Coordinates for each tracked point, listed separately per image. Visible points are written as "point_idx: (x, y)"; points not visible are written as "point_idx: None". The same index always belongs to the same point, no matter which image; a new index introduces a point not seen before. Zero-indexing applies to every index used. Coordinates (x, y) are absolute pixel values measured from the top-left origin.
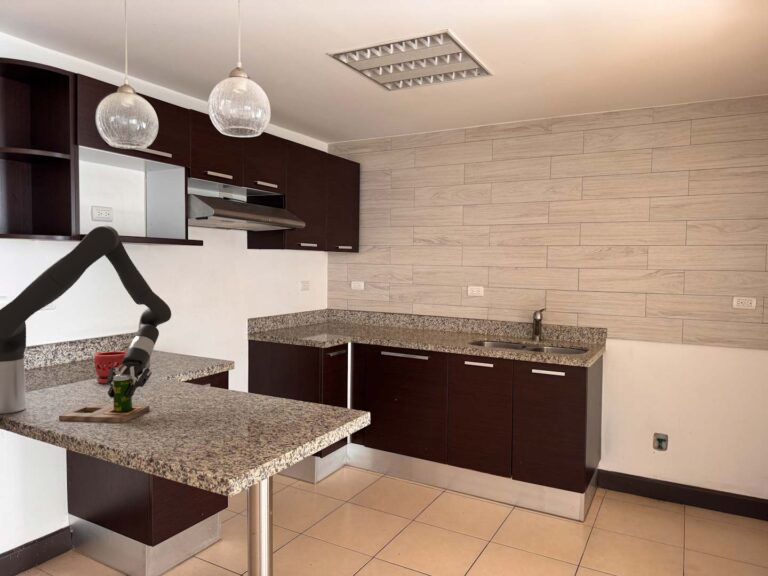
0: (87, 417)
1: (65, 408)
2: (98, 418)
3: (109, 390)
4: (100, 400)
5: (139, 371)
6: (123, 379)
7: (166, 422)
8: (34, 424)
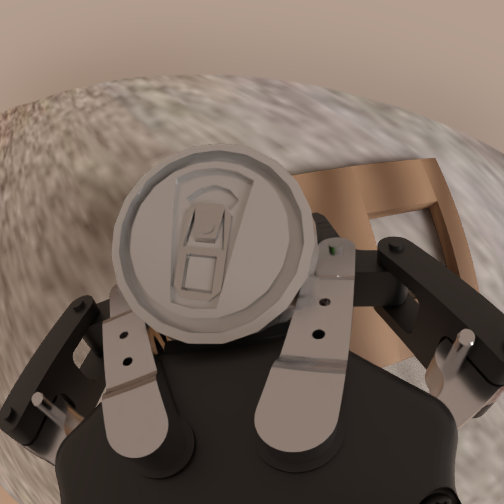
0: (332, 171)
1: None
2: None
3: (321, 223)
4: (496, 419)
5: (86, 422)
6: (146, 192)
7: (52, 260)
8: (440, 125)
